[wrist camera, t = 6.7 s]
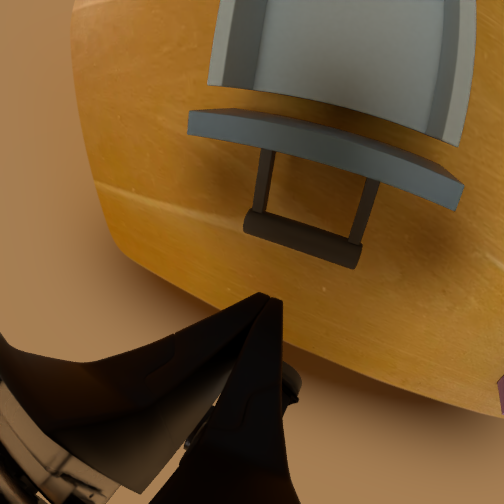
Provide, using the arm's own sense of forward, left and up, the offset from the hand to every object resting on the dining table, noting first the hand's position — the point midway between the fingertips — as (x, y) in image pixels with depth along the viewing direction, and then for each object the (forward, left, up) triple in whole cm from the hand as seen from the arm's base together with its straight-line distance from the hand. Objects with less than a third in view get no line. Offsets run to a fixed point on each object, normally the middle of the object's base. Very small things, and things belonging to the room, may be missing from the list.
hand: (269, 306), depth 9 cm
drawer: (+8, +7, -9) cm, 14 cm away
